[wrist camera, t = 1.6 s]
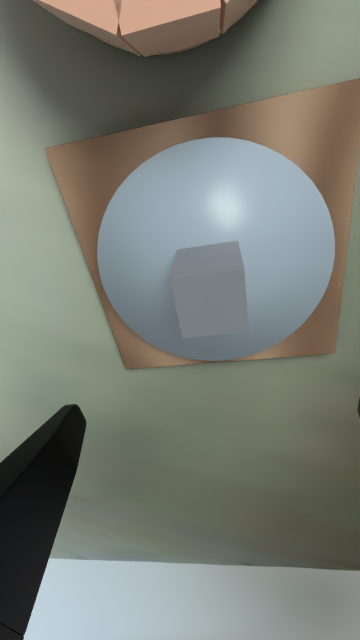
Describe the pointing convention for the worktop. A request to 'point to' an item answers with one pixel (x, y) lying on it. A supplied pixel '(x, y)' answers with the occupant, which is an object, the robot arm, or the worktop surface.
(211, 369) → the worktop surface
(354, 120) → the board
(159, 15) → the bowl
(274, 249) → the lid
